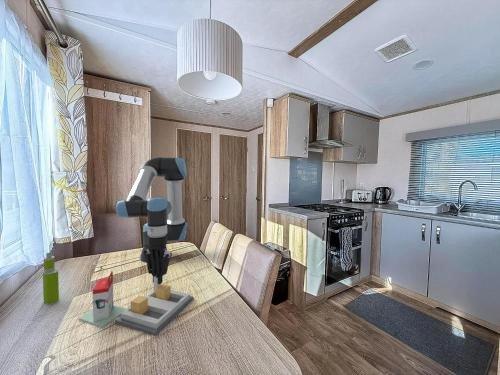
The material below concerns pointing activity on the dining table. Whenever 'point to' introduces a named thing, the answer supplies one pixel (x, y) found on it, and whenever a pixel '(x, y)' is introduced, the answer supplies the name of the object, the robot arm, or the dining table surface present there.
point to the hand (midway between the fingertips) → (157, 290)
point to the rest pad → (114, 314)
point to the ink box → (103, 298)
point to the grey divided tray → (155, 313)
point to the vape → (50, 280)
